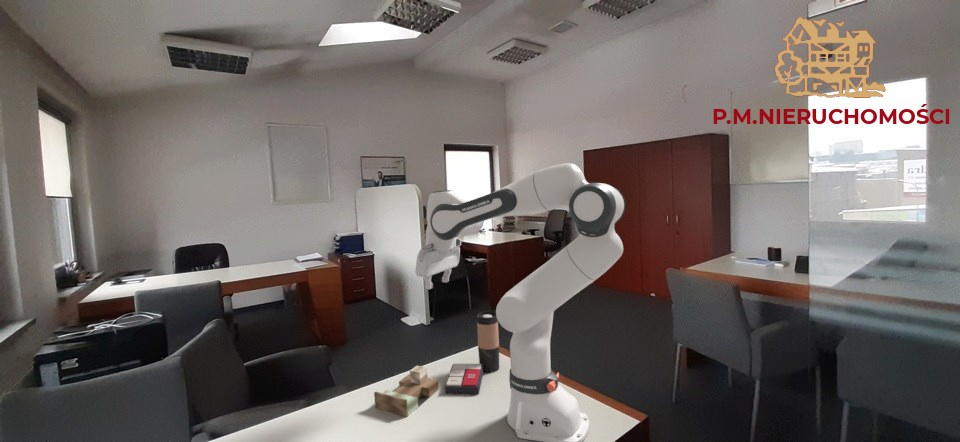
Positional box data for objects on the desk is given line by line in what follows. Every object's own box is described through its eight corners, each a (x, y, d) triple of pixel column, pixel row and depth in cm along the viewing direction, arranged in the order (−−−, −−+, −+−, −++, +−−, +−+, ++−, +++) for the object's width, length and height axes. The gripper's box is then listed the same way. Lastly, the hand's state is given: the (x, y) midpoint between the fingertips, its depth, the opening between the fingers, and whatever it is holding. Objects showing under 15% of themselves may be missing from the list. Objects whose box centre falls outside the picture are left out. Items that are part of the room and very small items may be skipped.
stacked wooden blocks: (438, 389, 129) (438, 374, 128) (406, 417, 114) (405, 400, 113) (409, 382, 134) (408, 368, 134) (375, 408, 119) (374, 392, 119)
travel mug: (504, 367, 142) (502, 314, 141) (490, 375, 137) (487, 319, 135) (488, 361, 148) (486, 310, 146) (474, 368, 142) (472, 315, 141)
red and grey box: (444, 384, 125) (452, 361, 140) (445, 397, 126) (453, 372, 140) (478, 385, 124) (482, 361, 139) (478, 397, 124) (483, 373, 139)
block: (427, 379, 130) (426, 367, 130) (420, 384, 126) (419, 372, 126) (417, 376, 132) (417, 365, 131) (410, 382, 128) (409, 370, 128)
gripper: (429, 248, 111) (427, 295, 112) (464, 239, 129) (461, 280, 130) (411, 245, 113) (409, 291, 115) (447, 237, 132) (445, 277, 133)
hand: (437, 285), depth 123 cm, fingers open, 8 cm apart
